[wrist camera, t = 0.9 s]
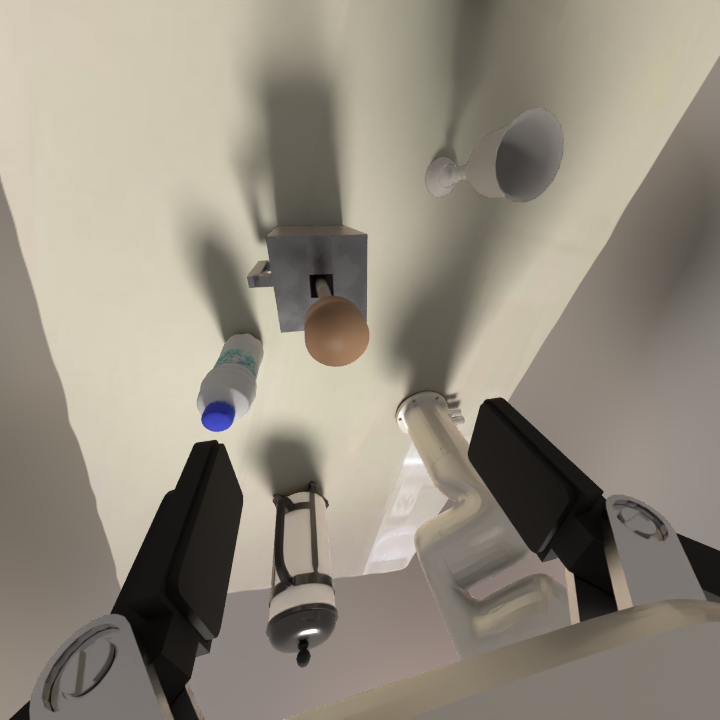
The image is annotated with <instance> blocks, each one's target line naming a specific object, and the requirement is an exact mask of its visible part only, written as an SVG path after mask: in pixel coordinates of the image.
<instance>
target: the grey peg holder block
mask: <svg viewBox="0 0 720 720" xmlns="http://www.w3.org/2000/svg"><path fill="white" fill-rule="evenodd" d="M266 242H267V248H268V254H269V260H270V261H258V263H257V264H256V265H255V267H254V268H253V269H252V271H251V272H250V273H249V275H248V276H247V279H248V284H249V288H253V287H273V286H274V291H275V298H276V304H277V310H278V316H279V323H280V329H281V332H293V331H305V330H304V320H305V316H306V313H307V311H308V309H309V308H310V307H311V306H312V305H313V304H314V303H315V302H316V301H318V300H319V298H318V295H311V290H310V280H309V275H315V274H332V287H333V294H331V295H332V296H340V297H343V298H346V299H348V300H350V301H351V302H352V303H353V304H354V305H355V306H356V307H357V308H358V310H359V312H360V313H361V315H362V317H363V318H364V320H365V322H366V324H367V234H365V233H363V232H360V231H357V230H355V229H352V228H349V227H347V226H344V225H317V226H277V227H276V228H275V229H274V230H273V231H271V232H270V233H269V234H268V235H267V236H266ZM268 271H271V273H268Z"/></svg>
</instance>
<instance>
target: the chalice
mask: <svg viewBox="0 0 720 720" xmlns="http://www.w3.org/2000/svg"><path fill="white" fill-rule="evenodd" d="M563 140H564V139H563V134H562V129H561V126H560V124H559V122H558V120H557V119H556V117H555V116H554V115H553V114H552V113H550V112H549V111H548V110H546V109H539V108H534V109H531V110H528V111H525V112H523V113H522V114H520V115H519V116H518V117H517V118H515V119H514V120H513V121H512V122H511V124H510V125H509V126H506V127H503V128H501V129H498V130H496V131H493V132H491V133H490V134H488V135H487V136H486V137H485V138H483V139H482V141H481V142H480V143H479V144H478V146H477V147H476V148H475V150H474V151H473V153H472V154H471V156H470V158H469V160H468V163H467V165H463V166H462V167H461V166H457V165H456V164H455V163H454V162H453V161H452V160H451V159H450V158H448V157H439V158H437V159H435V160H434V161H433V162H432V163H431V164H430V166H429V167H428V170H427V173H426V186H427V189H428V191H429V192H430V193H431V194H432V195H433V196H436V197H443V196H446V195H447V194H448V193H450V192H451V191H452V189H453V188H454V186H455V185H456V184H457V182H459V181H461V180H462V179H463V180H466V179H467V180H468V182H469V183H470V185H471V186H472V187H473V188H474V189H475V190H476V191H477V192H479V193H480V194H482V195H484V196H485V197H488V198H502V197H507V198H509V199H511V200H513V201H514V202H527V201H529V200H532V199H535V198H536V197H538V196H539V195H540V194H542V193H543V192H544V191H545V190H546V189H547V187H548V186H549V185H550V184H551V182H552V181H553V179H554V177H555V175H556V173H557V171H558V169H559V167H560V163H561V159H562V155H563Z"/></svg>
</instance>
